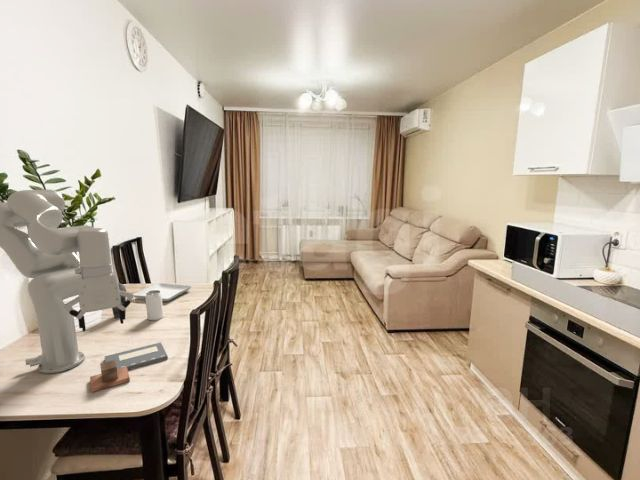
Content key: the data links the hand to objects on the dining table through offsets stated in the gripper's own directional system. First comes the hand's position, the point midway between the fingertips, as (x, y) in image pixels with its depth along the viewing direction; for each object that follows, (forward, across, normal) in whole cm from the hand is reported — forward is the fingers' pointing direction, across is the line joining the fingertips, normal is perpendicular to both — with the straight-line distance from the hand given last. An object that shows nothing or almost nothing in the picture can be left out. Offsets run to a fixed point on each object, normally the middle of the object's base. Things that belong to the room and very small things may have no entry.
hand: (103, 325), depth 104 cm
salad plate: (+19, +29, +75) cm, 83 cm away
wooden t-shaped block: (+18, 0, 0) cm, 18 cm away
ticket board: (+18, +8, +10) cm, 22 cm away
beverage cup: (+19, +7, +56) cm, 59 cm away
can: (+19, +20, +45) cm, 53 cm away
